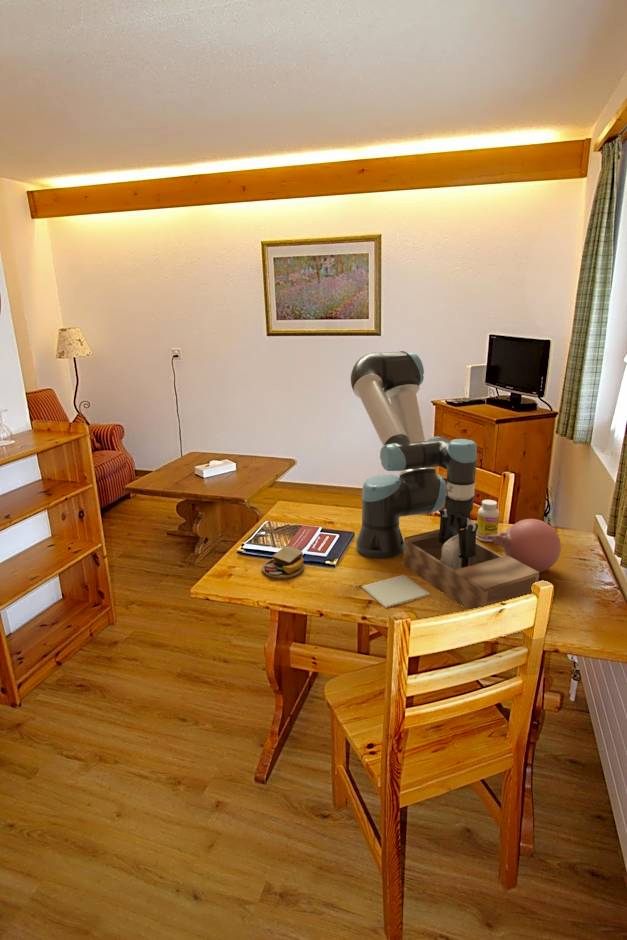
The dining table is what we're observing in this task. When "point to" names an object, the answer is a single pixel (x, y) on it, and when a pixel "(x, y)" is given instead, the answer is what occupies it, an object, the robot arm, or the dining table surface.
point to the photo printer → (451, 552)
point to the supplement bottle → (487, 520)
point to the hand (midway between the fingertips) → (454, 571)
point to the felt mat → (395, 591)
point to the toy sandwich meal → (284, 563)
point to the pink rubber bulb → (530, 543)
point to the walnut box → (468, 572)
